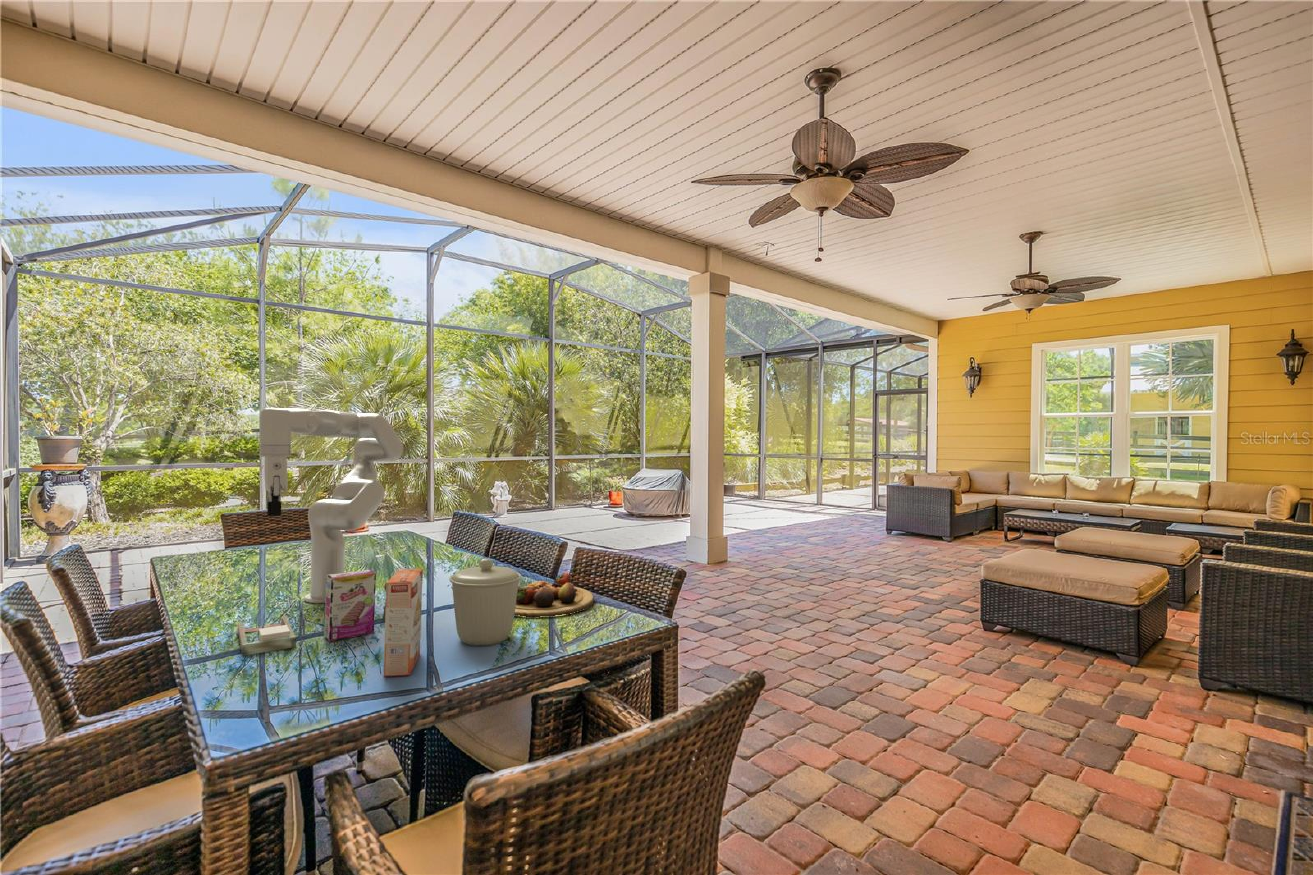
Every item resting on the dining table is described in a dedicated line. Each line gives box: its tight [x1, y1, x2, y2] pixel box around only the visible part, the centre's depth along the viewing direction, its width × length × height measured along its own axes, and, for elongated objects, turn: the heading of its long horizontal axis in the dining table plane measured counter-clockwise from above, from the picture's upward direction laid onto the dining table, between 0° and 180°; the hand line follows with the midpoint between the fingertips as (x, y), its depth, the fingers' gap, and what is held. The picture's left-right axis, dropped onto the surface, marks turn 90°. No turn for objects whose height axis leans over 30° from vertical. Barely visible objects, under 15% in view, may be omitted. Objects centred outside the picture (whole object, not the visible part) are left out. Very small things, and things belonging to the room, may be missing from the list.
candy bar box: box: [323, 569, 377, 643], centre depth 160 cm, size 11×5×16 cm, turn 134°
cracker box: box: [383, 568, 424, 677], centre depth 140 cm, size 14×6×21 cm, turn 12°
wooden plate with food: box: [514, 572, 595, 617], centre depth 194 cm, size 32×32×8 cm
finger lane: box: [237, 615, 297, 656], centre depth 157 cm, size 11×23×2 cm, turn 37°
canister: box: [449, 558, 522, 646], centre depth 159 cm, size 18×18×21 cm
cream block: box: [258, 624, 290, 641], centre depth 152 cm, size 6×6×4 cm
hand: (274, 515), depth 174 cm, fingers closed
